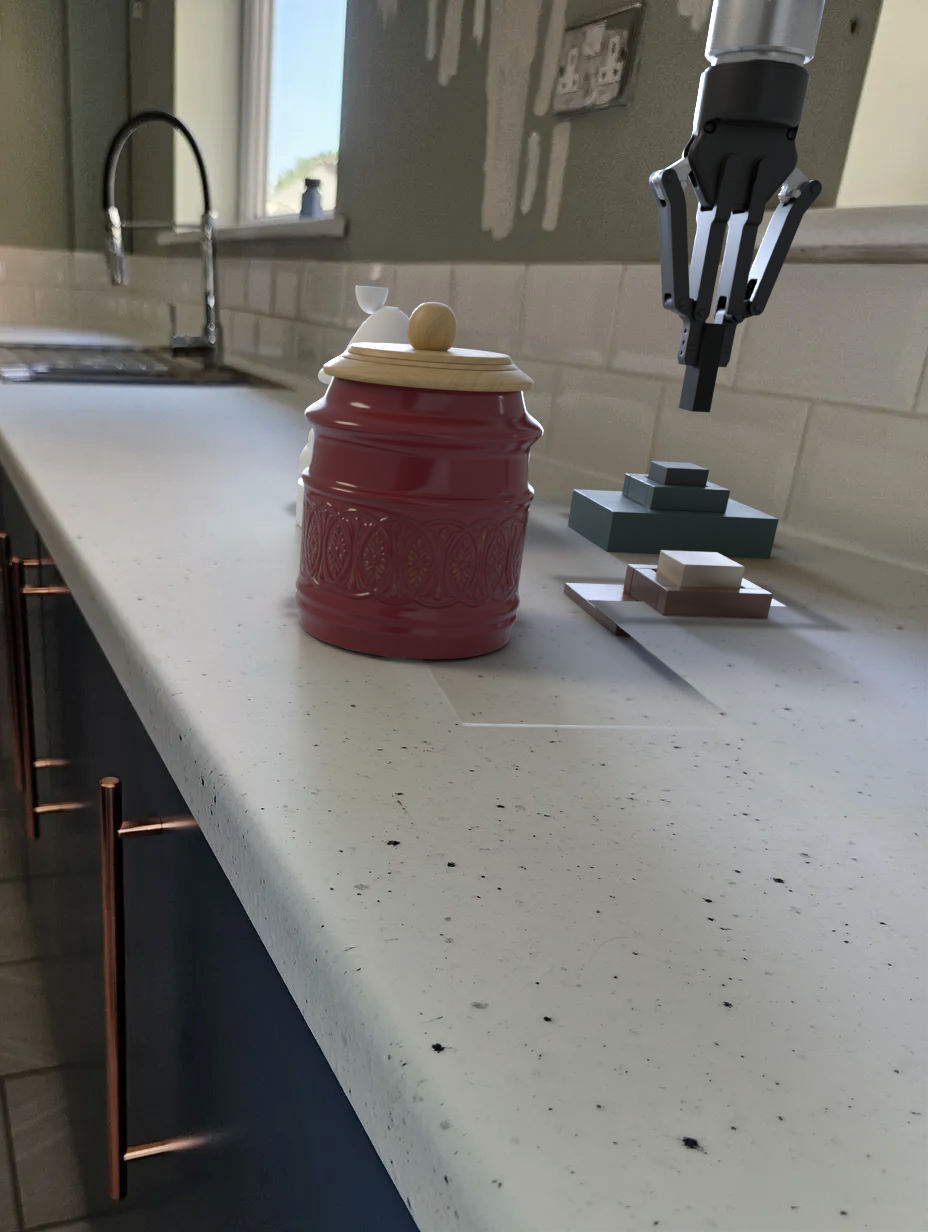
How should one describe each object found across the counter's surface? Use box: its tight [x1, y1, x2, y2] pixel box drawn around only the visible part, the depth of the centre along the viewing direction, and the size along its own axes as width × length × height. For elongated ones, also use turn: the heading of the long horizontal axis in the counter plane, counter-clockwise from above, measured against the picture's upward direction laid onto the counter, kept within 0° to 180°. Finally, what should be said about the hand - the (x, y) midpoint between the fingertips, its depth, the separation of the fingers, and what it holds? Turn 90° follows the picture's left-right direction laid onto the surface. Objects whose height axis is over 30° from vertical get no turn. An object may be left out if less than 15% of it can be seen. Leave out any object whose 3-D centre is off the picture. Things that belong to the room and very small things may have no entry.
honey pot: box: [295, 285, 410, 528], centre depth 90 cm, size 13×13×18 cm
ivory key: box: [656, 550, 746, 588], centre depth 72 cm, size 4×4×2 cm
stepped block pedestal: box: [563, 563, 786, 637], centre depth 73 cm, size 14×10×2 cm
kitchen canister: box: [294, 301, 545, 660], centre depth 62 cm, size 13×13×18 cm
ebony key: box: [648, 460, 710, 487], centre depth 93 cm, size 4×4×2 cm
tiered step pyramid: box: [567, 472, 780, 559], centre depth 94 cm, size 14×10×5 cm
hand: (694, 409), depth 91 cm, fingers closed
